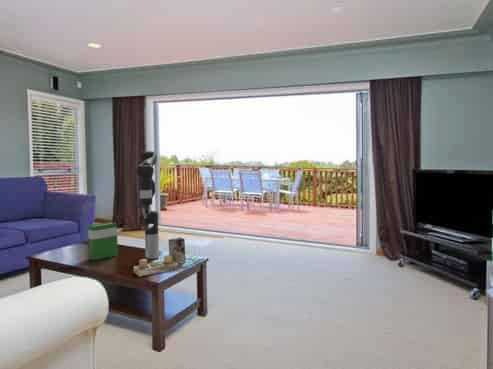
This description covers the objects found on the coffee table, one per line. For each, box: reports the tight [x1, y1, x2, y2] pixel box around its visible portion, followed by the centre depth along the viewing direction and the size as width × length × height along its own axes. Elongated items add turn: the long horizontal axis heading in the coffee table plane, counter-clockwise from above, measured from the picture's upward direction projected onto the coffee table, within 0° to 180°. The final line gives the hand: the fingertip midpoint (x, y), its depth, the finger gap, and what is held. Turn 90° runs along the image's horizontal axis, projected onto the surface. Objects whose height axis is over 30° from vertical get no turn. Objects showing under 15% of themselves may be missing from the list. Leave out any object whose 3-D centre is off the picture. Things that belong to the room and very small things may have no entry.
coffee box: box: [168, 237, 186, 264], centre depth 250 cm, size 9×6×16 cm
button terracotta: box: [138, 258, 148, 269], centre depth 229 cm, size 5×5×5 cm
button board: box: [132, 260, 179, 277], centre depth 234 cm, size 11×25×4 cm, turn 124°
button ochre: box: [163, 254, 172, 264], centre depth 238 cm, size 5×5×5 cm
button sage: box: [151, 260, 161, 267], centre depth 234 cm, size 5×5×5 cm
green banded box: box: [87, 221, 119, 261], centre depth 266 cm, size 18×7×24 cm, turn 137°
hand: (147, 224), depth 234 cm, fingers closed
